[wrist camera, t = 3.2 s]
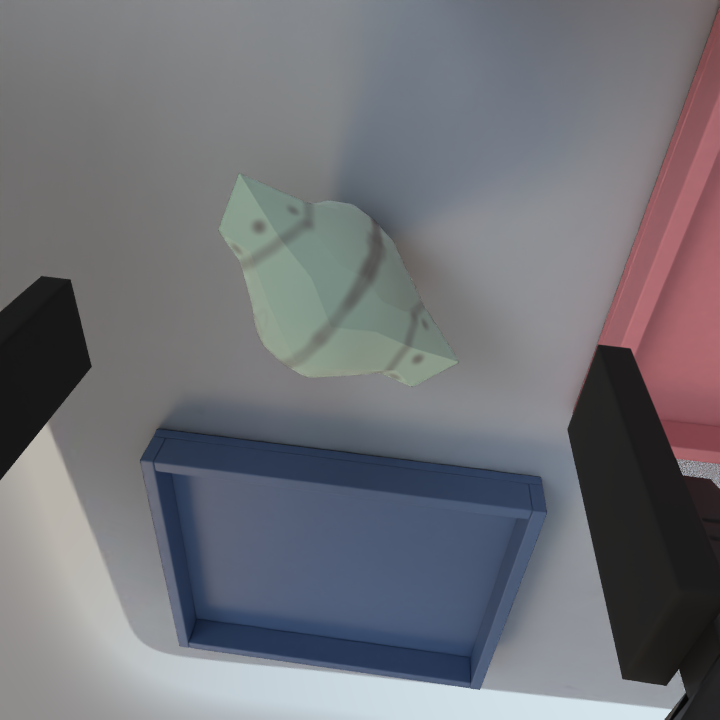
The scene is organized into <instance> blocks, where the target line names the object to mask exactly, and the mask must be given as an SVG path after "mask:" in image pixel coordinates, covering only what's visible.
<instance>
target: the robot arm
mask: <svg viewBox="0 0 720 720" xmlns="http://www.w3.org/2000/svg"><path fill="white" fill-rule="evenodd" d="M91 367H92V366H91V362H90V358H89V354H88V350H87V345H86V341H85V337H84V333H83V329H82V325H81V321H80V317H79V312H78V308H77V304H76V300H75V296H74V292H73V288H72V283H71V280H69V279H61V278H53V277H45V276H41V277H40V278H39V279H38V280H36V281H35V282H34V283H33V284H32V285H31V286H29V287H28V288H27V289H26V290H25V291H24V292H23V293H21V294H20V295H19V296H18V297H17V298H16V299H15V300H13V301H12V302H11V303H10V304H9V305H8V306H7V307H5V308H4V309H3V310H2V311H1V312H0V480H1V479H2V477H3V476H4V475H5V474H6V472H7V471H8V470H9V469H10V467H11V466H12V465H13V464H14V463H15V461H16V460H17V459H18V458H19V456H20V455H21V454H22V453H23V451H24V450H25V449H26V448H27V446H28V445H29V444H30V443H31V441H32V440H33V439H34V438H35V437H36V435H37V434H38V433H39V432H40V430H41V429H42V428H43V427H44V425H45V424H46V423H47V422H48V420H49V419H50V418H51V417H52V415H53V414H54V413H55V412H56V410H57V409H58V408H59V407H60V405H61V404H62V403H63V402H64V401H65V399H66V398H67V397H68V396H69V394H70V393H71V392H72V391H73V389H74V388H75V387H76V386H77V384H78V383H79V382H80V381H81V379H82V378H83V377H84V376H85V374H86V373H87V372H88V371H89V369H90V368H91ZM568 434H569V439H570V443H571V448H572V452H573V457H574V461H575V466H576V470H577V475H578V479H579V484H580V488H581V493H582V497H583V502H584V506H585V511H586V516H587V520H588V525H589V529H590V534H591V538H592V543H593V547H594V552H595V556H596V561H597V565H598V570H599V574H600V579H601V583H602V588H603V593H604V597H605V602H606V606H607V611H608V615H609V620H610V624H611V629H612V633H613V638H614V642H615V647H616V651H617V656H618V660H619V665H620V670H621V674H622V679H626V680H632V681H638V682H645V683H651V684H658V685H664V686H667V684H668V683H669V682H670V680H671V679H672V677H673V676H674V675H675V673H676V672H677V671H678V669H679V670H680V674H681V677H682V680H683V684H684V687H685V691H686V693H685V694H684V695H683V697H682V698H681V699H680V700H679V702H678V703H677V704H676V706H675V707H674V708H673V709H672V711H671V712H670V713H669V714H668V716H667V717H666V718H665V720H720V489H719V488H718V487H717V486H716V485H715V484H714V483H713V482H712V480H711V479H705V478H698V477H690V476H683V475H682V473H681V470H680V468H679V465H678V463H677V460H676V458H675V456H674V453H673V451H672V448H671V446H670V443H669V441H668V438H667V436H666V434H665V431H664V429H663V426H662V424H661V421H660V419H659V416H658V414H657V412H656V409H655V407H654V404H653V402H652V399H651V397H650V394H649V392H648V390H647V387H646V385H645V382H644V380H643V377H642V375H641V372H640V370H639V367H638V365H637V363H636V360H635V358H634V355H633V353H632V350H631V348H624V347H616V346H608V345H599V344H598V346H597V349H596V352H595V354H594V357H593V360H592V363H591V365H590V368H589V371H588V374H587V376H586V379H585V382H584V385H583V388H582V390H581V393H580V396H579V399H578V401H577V404H576V407H575V410H574V413H573V415H572V418H571V421H570V424H569V426H568Z"/></svg>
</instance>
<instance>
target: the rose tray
mask: <svg viewBox="0 0 720 720" xmlns="http://www.w3.org/2000/svg"><path fill="white" fill-rule="evenodd" d="M598 344H599V345H608V346H616V347H624V348H631V350H632V353H633V355H634V358H635V360H636V363H637V365H638V367H639V370H640V372H641V375H642V377H643V380H644V382H645V385H646V387H647V390H648V392H649V394H650V397H651V399H652V402H653V404H654V407H655V409H656V412H657V414H658V416H659V419H660V421H661V424H662V426H663V429H664V431H665V434H666V436H667V438H668V441H669V443H670V446H671V448H672V451H673V453H674V456H675V458H676V459H684V460H692V461H700V462H708V463H716V464H720V7H719V10H718V13H717V16H716V18H715V21H714V24H713V27H712V29H711V32H710V35H709V38H708V40H707V43H706V46H705V49H704V52H703V54H702V57H701V60H700V63H699V65H698V68H697V71H696V74H695V76H694V79H693V82H692V85H691V87H690V90H689V93H688V96H687V98H686V101H685V104H684V107H683V109H682V112H681V115H680V118H679V120H678V123H677V126H676V129H675V131H674V134H673V137H672V140H671V142H670V145H669V148H668V151H667V153H666V156H665V159H664V162H663V165H662V167H661V170H660V173H659V176H658V178H657V181H656V184H655V187H654V189H653V192H652V195H651V198H650V200H649V203H648V206H647V209H646V211H645V214H644V217H643V220H642V222H641V225H640V228H639V231H638V233H637V236H636V239H635V242H634V244H633V247H632V250H631V253H630V255H629V258H628V261H627V264H626V266H625V269H624V272H623V275H622V278H621V280H620V283H619V286H618V289H617V291H616V294H615V297H614V300H613V302H612V305H611V308H610V311H609V313H608V316H607V319H606V322H605V324H604V327H603V330H602V333H601V335H600V338H599V341H598ZM598 344H597V346H598ZM597 346H596V349H597ZM596 349H595V352H596ZM595 352H594V354H595ZM593 357H594V355H593ZM593 357H592V360H593ZM592 360H591V363H592ZM591 363H590V365H591ZM589 368H590V366H589ZM589 368H588V371H589ZM588 371H587V374H588ZM587 374H586V376H587ZM585 379H586V377H585ZM584 382H585V380H584ZM584 382H583V385H584ZM583 385H582V388H583ZM582 388H581V390H582ZM580 393H581V391H580ZM580 393H579V396H580ZM579 396H578V399H579ZM578 399H577V401H578ZM576 404H577V402H576ZM576 404H575V407H576ZM575 407H574V410H575ZM574 410H573V413H574Z"/></svg>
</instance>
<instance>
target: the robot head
mask: <svg viewBox="0 0 720 720" xmlns="http://www.w3.org/2000/svg"><path fill="white" fill-rule="evenodd" d="M218 231H219V232H220V233H221V235H222V236H223V238H224V239H225V241H226V242H227V244H228V245H229V246H230V248H231V249H232V251H233V252H234V254H235V255H236V257H237V258H238V259H239V261H240V264H241V267H242V271H243V274H244V278H245V281H246V285H247V289H248V292H249V296H250V299H251V303H252V308H253V315H254V322H255V328H256V330H257V333H258V335H259V337H260V339H261V342H262V344H263V345H264V346H265V347H266V348H267V349H268V350H269V351H270V352H271V353H272V354H273V355H274V356H275V357H276V358H277V359H278V360H279V361H280V362H281V363H283V364H284V365H285V366H287V367H289V368H291V369H292V370H294V371H296V372H298V373H300V374H301V375H303V376H305V377H334V376H350V375H362V374H374V373H381V374H383V375H385V376H388V377H390V378H392V379H395V380H397V381H399V382H402V383H404V384H406V385H409V386H411V387H413V386H415V385H417V384H419V383H421V382H423V381H425V380H426V379H428V378H430V377H432V376H434V375H436V374H438V373H440V372H442V371H444V370H445V369H447V368H449V367H451V366H453V365H455V364H457V363H459V361H458V359H457V357H456V356H455V354H454V353H453V351H452V349H451V348H450V346H449V345H448V343H447V342H446V340H445V338H444V337H443V335H442V334H441V332H440V330H439V329H438V327H437V326H436V324H435V322H434V321H433V319H432V318H431V316H430V314H429V313H428V311H427V310H426V308H425V307H424V305H423V303H422V301H421V299H420V297H419V295H418V293H417V291H416V288H415V286H414V284H413V282H412V280H411V278H410V276H409V274H408V272H407V270H406V268H405V266H404V264H403V261H402V259H401V257H400V255H399V252H398V250H397V248H396V246H395V243H394V242H393V241H392V239H391V238H390V237H389V236H388V235H387V234H386V233H385V231H384V230H383V229H382V228H381V227H380V226H379V225H378V224H377V222H376V221H375V220H374V219H372V218H371V217H369V216H368V215H367V214H365V213H364V212H363V211H361V210H360V209H359V208H357V207H356V206H355V205H353V204H348V203H342V202H336V201H330V200H329V201H324V202H319V203H315V204H311V203H306V202H304V201H302V200H299V199H297V198H295V197H293V196H290V195H288V194H286V193H283V192H281V191H279V190H277V189H274V188H272V187H270V186H267V185H265V184H263V183H261V182H258V181H256V180H254V179H251V178H249V177H247V176H245V175H242V174H240V173H239V175H238V177H237V180H236V183H235V186H234V188H233V191H232V194H231V197H230V199H229V202H228V205H227V208H226V210H225V213H224V216H223V219H222V221H221V224H220V227H219V230H218Z"/></svg>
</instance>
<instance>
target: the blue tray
mask: <svg viewBox="0 0 720 720" xmlns="http://www.w3.org/2000/svg"><path fill="white" fill-rule="evenodd" d="M140 463H141V467H142V472H143V477H144V481H145V486H146V491H147V495H148V500H149V505H150V510H151V514H152V519H153V524H154V528H155V533H156V538H157V543H158V547H159V552H160V557H161V561H162V566H163V571H164V576H165V580H166V585H167V590H168V594H169V599H170V604H171V609H172V613H173V618H174V623H175V627H176V632H177V637H178V642H179V646H181V647H190V648H195V649H202V650H208V651H215V652H222V653H229V654H236V655H243V656H250V657H257V658H264V659H271V660H278V661H285V662H292V663H299V664H306V665H313V666H320V667H327V668H333V669H340V670H347V671H354V672H361V673H368V674H375V675H382V676H389V677H396V678H403V679H410V680H417V681H424V682H431V683H438V684H445V685H451V686H458V687H465V688H469V687H470V688H471V689H478V690H480V688H481V686H482V683H483V680H484V678H485V675H486V673H487V670H488V667H489V665H490V662H491V659H492V657H493V654H494V651H495V649H496V646H497V643H498V641H499V638H500V636H501V633H502V630H503V628H504V625H505V622H506V620H507V617H508V614H509V612H510V609H511V607H512V604H513V601H514V599H515V596H516V593H517V591H518V588H519V585H520V583H521V580H522V578H523V575H524V572H525V570H526V567H527V564H528V562H529V559H530V556H531V554H532V551H533V549H534V546H535V543H536V541H537V538H538V535H539V533H540V530H541V527H542V525H543V522H544V520H545V517H546V514H547V509H546V503H545V497H544V492H543V486H542V480H541V477H535V476H527V475H519V474H511V473H503V472H495V471H487V470H479V469H471V468H464V467H456V466H448V465H440V464H432V463H424V462H416V461H408V460H400V459H392V458H384V457H376V456H368V455H361V454H353V453H345V452H337V451H329V450H321V449H313V448H305V447H297V446H289V445H281V444H273V443H265V442H258V441H250V440H242V439H234V438H226V437H218V436H210V435H202V434H194V433H186V432H178V431H170V430H162V429H157V430H156V432H155V434H154V436H153V438H152V439H151V441H150V443H149V445H148V447H147V448H146V450H145V452H144V454H143V456H142V458H141V459H140Z"/></svg>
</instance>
